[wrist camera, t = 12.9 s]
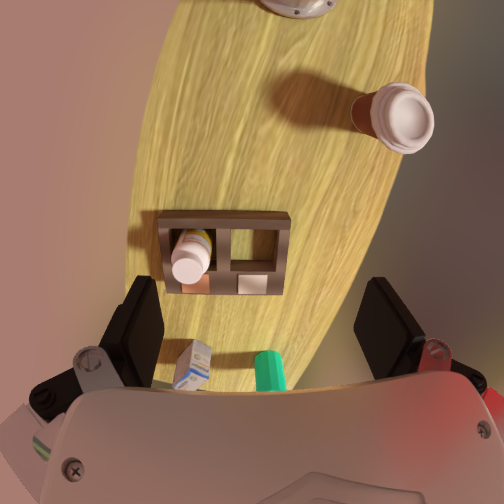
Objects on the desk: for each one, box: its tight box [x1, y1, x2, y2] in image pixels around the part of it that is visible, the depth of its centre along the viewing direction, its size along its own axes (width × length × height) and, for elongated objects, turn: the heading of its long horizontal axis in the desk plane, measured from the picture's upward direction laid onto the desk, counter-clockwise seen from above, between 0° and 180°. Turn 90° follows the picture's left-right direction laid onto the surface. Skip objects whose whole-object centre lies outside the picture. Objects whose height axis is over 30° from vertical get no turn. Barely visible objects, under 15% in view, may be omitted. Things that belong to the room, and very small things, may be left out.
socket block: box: [157, 210, 291, 295], centre depth 43 cm, size 13×19×4 cm
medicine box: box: [172, 339, 211, 391], centre depth 52 cm, size 8×4×9 cm, turn 144°
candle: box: [254, 351, 287, 392], centre depth 52 cm, size 6×6×12 cm
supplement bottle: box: [171, 228, 213, 284], centre depth 39 cm, size 5×5×10 cm
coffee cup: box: [350, 82, 434, 154], centre depth 29 cm, size 9×9×12 cm
